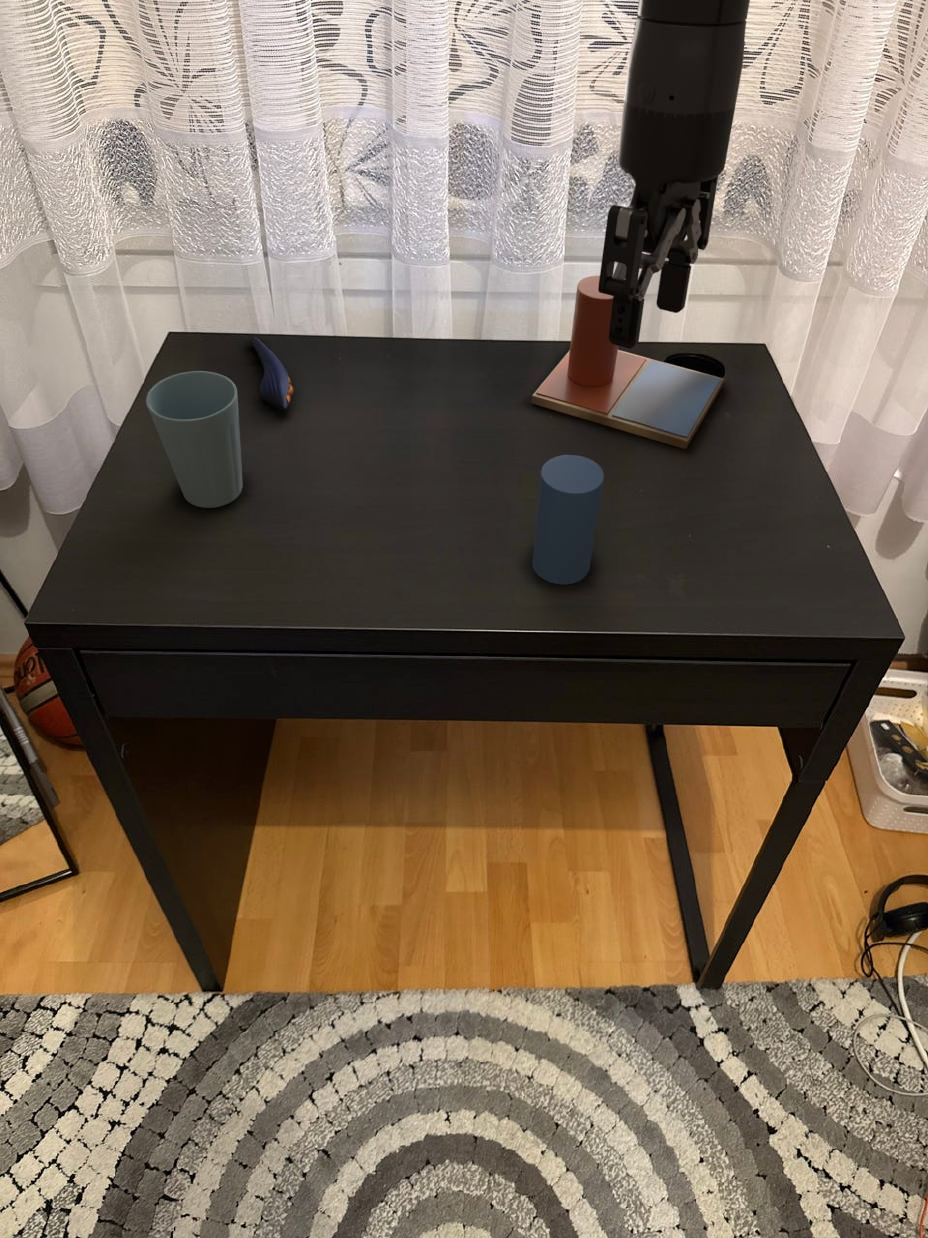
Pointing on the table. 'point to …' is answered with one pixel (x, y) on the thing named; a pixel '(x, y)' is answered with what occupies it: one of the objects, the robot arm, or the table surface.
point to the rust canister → (591, 336)
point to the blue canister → (567, 518)
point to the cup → (200, 434)
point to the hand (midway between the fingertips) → (647, 326)
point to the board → (636, 398)
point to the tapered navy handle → (273, 377)
